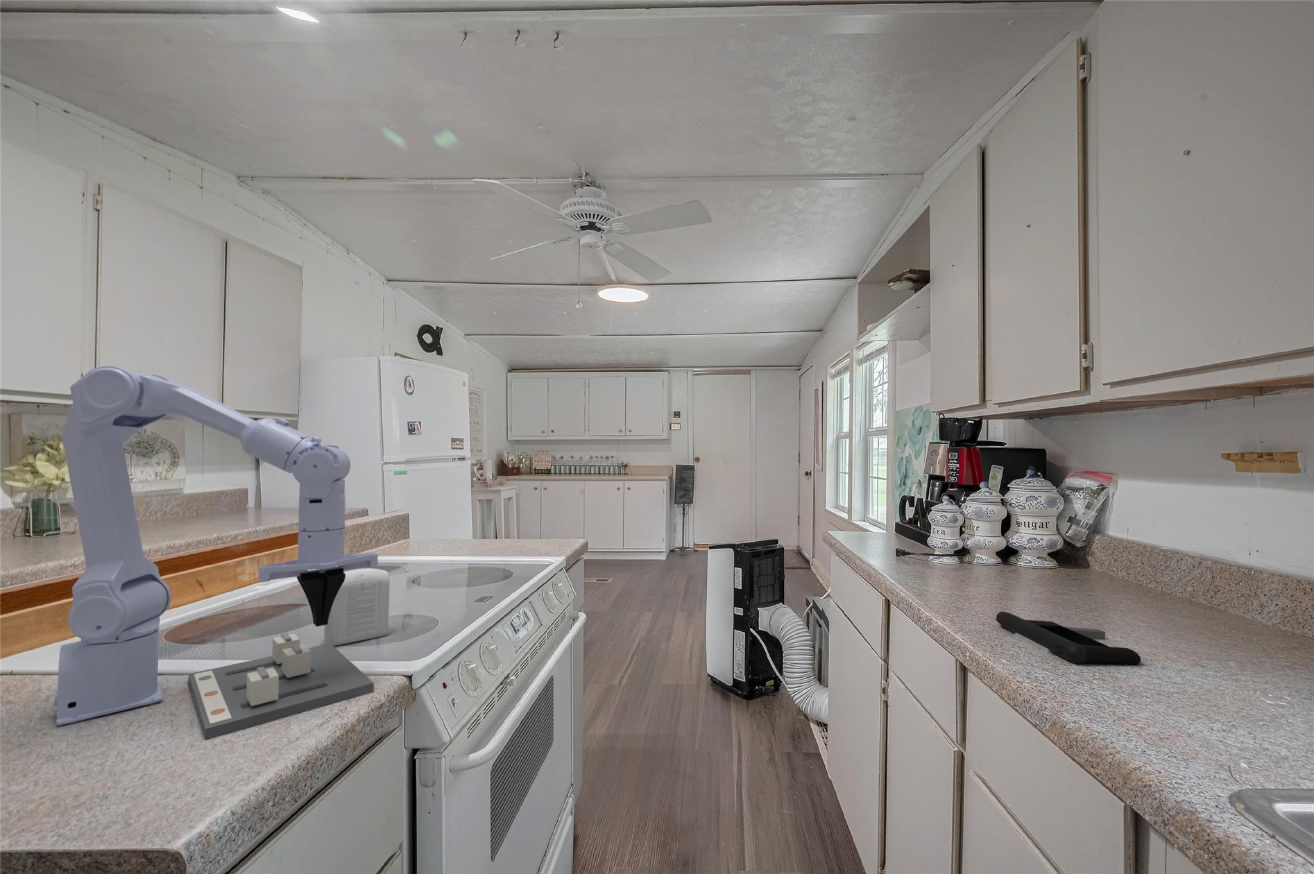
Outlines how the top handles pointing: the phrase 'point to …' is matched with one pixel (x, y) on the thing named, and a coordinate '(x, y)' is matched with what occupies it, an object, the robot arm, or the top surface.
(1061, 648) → the door handle
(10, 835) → the top surface
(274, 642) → the far tab
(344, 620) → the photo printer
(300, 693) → the switch board
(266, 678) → the near tab
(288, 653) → the middle tab
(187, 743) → the top surface
